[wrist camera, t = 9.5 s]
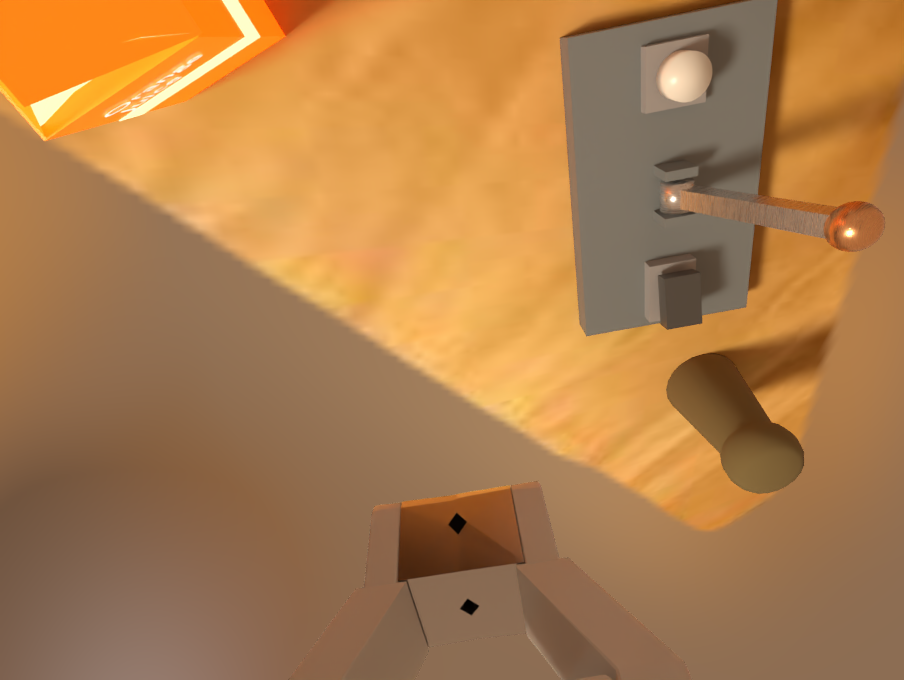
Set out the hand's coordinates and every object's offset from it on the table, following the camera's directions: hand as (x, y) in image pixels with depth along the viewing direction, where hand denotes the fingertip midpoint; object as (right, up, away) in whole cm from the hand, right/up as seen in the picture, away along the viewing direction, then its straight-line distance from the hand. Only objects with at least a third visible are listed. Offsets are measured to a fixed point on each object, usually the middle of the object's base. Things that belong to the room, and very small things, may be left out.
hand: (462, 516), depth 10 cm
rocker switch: (+15, +6, +27) cm, 32 cm away
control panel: (+14, +14, +28) cm, 34 cm away
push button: (+13, +19, +22) cm, 31 cm away
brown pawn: (+21, 0, +37) cm, 42 cm away
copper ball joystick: (+14, +12, +25) cm, 31 cm away
